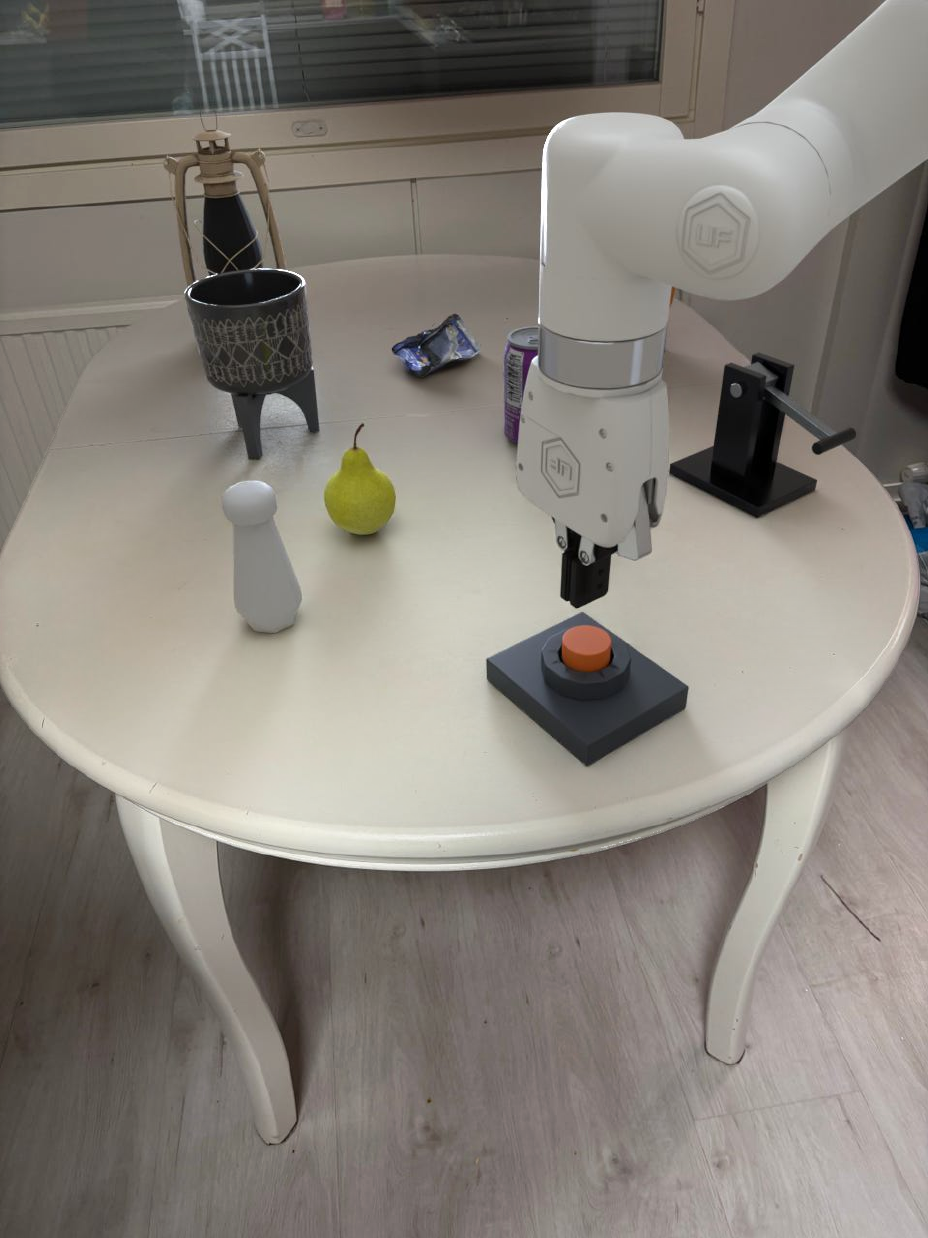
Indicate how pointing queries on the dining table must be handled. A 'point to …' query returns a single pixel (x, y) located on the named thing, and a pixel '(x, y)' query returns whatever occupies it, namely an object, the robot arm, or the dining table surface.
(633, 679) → the block
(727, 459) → the switch bracket
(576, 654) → the button
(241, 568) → the salt shaker
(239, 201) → the lantern
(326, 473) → the dining table surface
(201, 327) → the planter
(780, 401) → the switch lever
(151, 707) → the dining table surface
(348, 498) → the fruit
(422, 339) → the snack package
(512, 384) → the beverage can
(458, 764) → the dining table surface
